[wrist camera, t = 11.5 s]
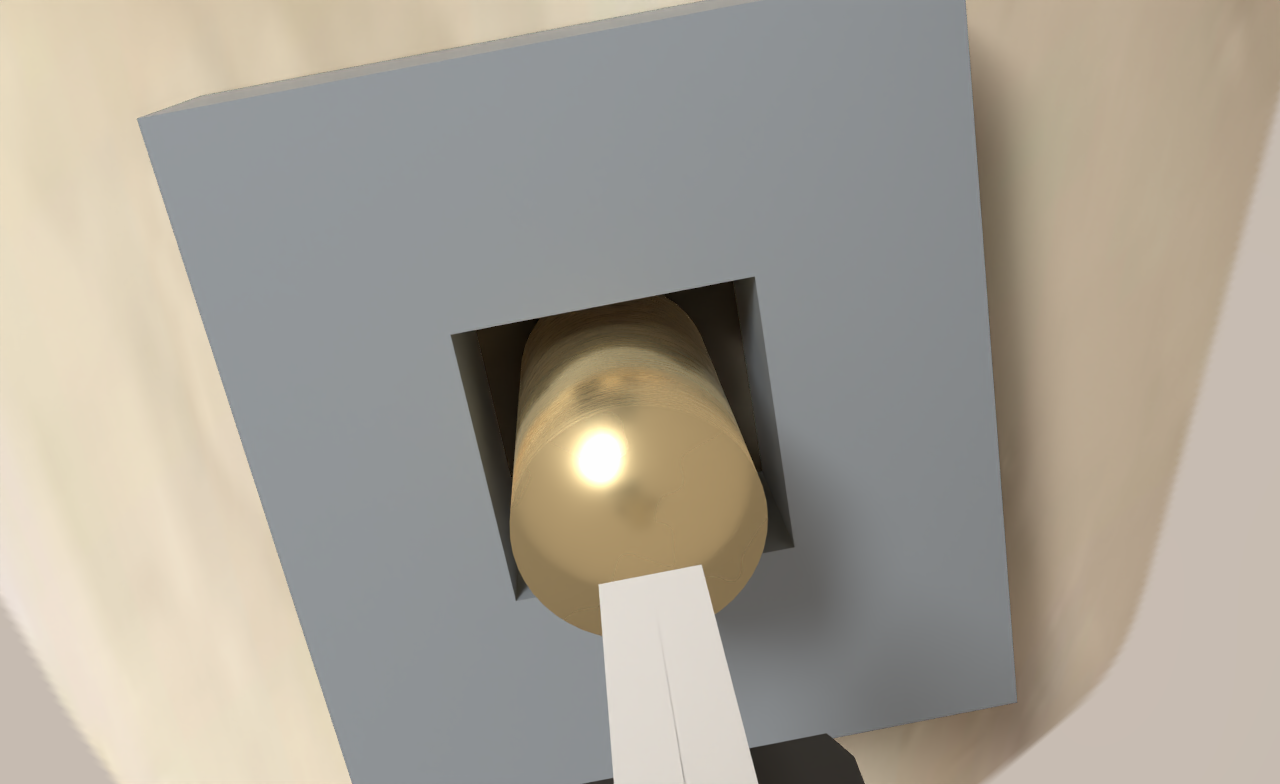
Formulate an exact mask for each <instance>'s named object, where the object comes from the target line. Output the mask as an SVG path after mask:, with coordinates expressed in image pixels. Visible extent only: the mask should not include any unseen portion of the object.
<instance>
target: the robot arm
mask: <svg viewBox="0 0 1280 784" xmlns="http://www.w3.org/2000/svg"><path fill="white" fill-rule="evenodd" d="M598 585H599V598H600V611H601V623H602V636H603V649H604V662H605V675H606V688H607V701H608V714H609V727H610V740H611V753H612V766H613V778H609V779H604V780H599V781H594V782H589V783H584V784H865V783H864V781H863V778H862V776H861V773H860V770H859V768H858V765H857V763H856V760H855V758H854V756H853V755H851V754H850V753H849V752H848V751H847V750H846V749H844V748H843V747H842V746H841V745H840V744H839V743H838V742H836V741H835V740H834V739H833V738H832V737H831V736H829V735H828V734H827V733H825V734H820V735H815V736H809V737H804V738H799V739H794V740H789V741H784V742H779V743H774V744H768V745H763V746H758V747H753V748H749V746H748V742H747V738H746V734H745V730H744V727H743V723H742V719H741V715H740V711H739V707H738V703H737V700H736V696H735V692H734V688H733V684H732V680H731V676H730V672H729V669H728V665H727V661H726V657H725V653H724V649H723V645H722V641H721V638H720V634H719V630H718V626H717V622H716V618H715V614H714V611H713V607H712V603H711V599H710V595H709V591H708V587H707V583H706V580H705V576H704V572H703V568H702V565H696V566H691V567H686V568H681V569H676V570H671V571H665V572H660V573H655V574H650V575H645V576H640V577H634V578H629V579H624V580H619V581H614V582H609V583H603V584H598Z"/></svg>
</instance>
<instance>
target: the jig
mask: <svg viewBox="0 0 1280 784" xmlns="http://www.w3.org/2000/svg"><path fill="white" fill-rule="evenodd" d="M137 121H138V124H139V127H140V130H141V133H142V136H143V139H144V142H145V145H146V148H147V151H148V154H149V158H150V161H151V164H152V167H153V170H154V173H155V176H156V179H157V182H158V185H159V188H160V192H161V195H162V198H163V201H164V204H165V207H166V210H167V213H168V216H169V219H170V222H171V225H172V229H173V232H174V235H175V238H176V241H177V244H178V247H179V250H180V253H181V256H182V259H183V263H184V266H185V269H186V272H187V275H188V278H189V281H190V284H191V287H192V290H193V293H194V297H195V300H196V303H197V306H198V309H199V312H200V315H201V318H202V321H203V324H204V327H205V330H206V334H207V337H208V340H209V343H210V346H211V349H212V352H213V355H214V358H215V361H216V364H217V368H218V371H219V374H220V377H221V380H222V383H223V386H224V389H225V392H226V395H227V398H228V401H229V405H230V408H231V411H232V414H233V417H234V420H235V423H236V426H237V429H238V432H239V435H240V439H241V442H242V445H243V448H244V451H245V454H246V457H247V460H248V463H249V466H250V469H251V472H252V476H253V479H254V482H255V485H256V488H257V491H258V494H259V497H260V500H261V503H262V506H263V510H264V513H265V516H266V519H267V522H268V525H269V528H270V531H271V534H272V537H273V540H274V544H275V547H276V550H277V553H278V556H279V559H280V562H281V565H282V568H283V571H284V574H285V577H286V581H287V584H288V587H289V590H290V593H291V596H292V599H293V602H294V605H295V608H296V611H297V615H298V618H299V621H300V624H301V627H302V630H303V633H304V636H305V639H306V642H307V645H308V648H309V652H310V655H311V658H312V661H313V664H314V667H315V670H316V673H317V676H318V679H319V682H320V686H321V689H322V692H323V695H324V698H325V701H326V704H327V707H328V710H329V713H330V716H331V719H332V723H333V726H334V729H335V732H336V735H337V738H338V741H339V744H340V747H341V750H342V753H343V757H344V760H345V763H346V766H347V769H348V772H349V775H350V778H351V781H352V784H584V783H589V782H594V781H599V780H604V779H609V778H613V766H612V753H611V740H610V727H609V714H608V701H607V688H606V675H605V662H604V649H603V636H600V635H596V634H593V633H590V632H587V631H584V630H582V629H580V628H577V627H575V626H573V625H571V624H569V623H567V622H566V621H564V620H563V619H561V618H559V617H558V616H556V615H555V614H554V613H553V612H551V611H550V610H549V609H548V608H546V607H545V606H544V605H543V604H542V603H541V602H540V601H539V600H538V598H537V597H536V596H535V595H534V594H533V593H532V591H531V590H530V588H529V587H528V586H527V584H526V583H525V581H524V579H523V577H522V575H521V573H520V571H519V569H518V567H517V564H516V561H515V558H514V555H513V552H512V546H511V541H510V511H511V497H512V480H511V476H510V472H509V467H508V463H507V459H506V455H505V451H504V446H503V442H502V438H501V434H500V429H499V425H498V421H497V417H496V413H495V408H494V404H493V400H492V396H491V392H490V387H489V383H488V379H487V375H486V371H485V366H484V362H483V358H482V354H481V350H480V345H479V341H478V337H477V333H476V330H478V329H483V328H488V327H493V326H499V325H504V324H509V323H514V322H519V321H525V320H530V319H535V318H540V317H546V316H551V315H556V314H561V313H566V312H572V311H577V310H582V309H587V308H593V307H598V306H603V305H608V304H613V303H619V302H624V301H629V300H634V299H640V298H645V297H650V296H655V295H660V294H666V293H671V292H676V291H681V290H687V289H692V288H697V287H702V286H707V285H713V284H718V283H723V282H728V281H733V284H734V291H735V297H736V304H737V310H738V317H739V323H740V330H741V336H742V343H743V350H744V356H745V363H746V369H747V376H748V382H749V389H750V395H751V402H752V408H753V415H754V421H755V428H756V434H757V441H758V447H759V454H760V460H761V467H762V471H760V472H757V473H758V476H759V478H760V481H761V483H762V486H763V489H764V493H765V497H766V501H767V512H768V526H767V535H766V540H765V545H764V549H763V552H762V555H761V558H760V561H759V563H758V565H757V567H756V569H755V571H754V573H753V575H752V576H751V578H750V579H749V581H748V582H747V584H746V585H745V586H744V588H743V589H742V590H741V591H740V592H739V594H738V595H737V596H736V597H735V598H734V599H733V600H732V601H731V602H730V603H729V604H728V605H727V606H725V607H724V608H723V609H722V610H721V611H719V612H718V613H716V614H715V618H716V622H717V626H718V630H719V634H720V638H721V641H722V645H723V649H724V653H725V657H726V661H727V665H728V669H729V672H730V676H731V680H732V684H733V688H734V692H735V696H736V700H737V703H738V707H739V711H740V715H741V719H742V723H743V727H744V730H745V734H746V738H747V742H748V746H749V748H753V747H758V746H763V745H768V744H774V743H779V742H784V741H789V740H794V739H799V738H804V737H809V736H815V735H820V734H825V733H827V734H828V735H829V736H831V737H832V738H837V737H842V736H847V735H852V734H858V733H863V732H868V731H873V730H878V729H883V728H888V727H893V726H899V725H904V724H909V723H914V722H919V721H924V720H929V719H935V718H940V717H945V716H950V715H955V714H960V713H965V712H970V711H976V710H981V709H986V708H991V707H996V706H1001V705H1006V704H1012V703H1017V693H1016V680H1015V666H1014V653H1013V639H1012V625H1011V612H1010V598H1009V585H1008V571H1007V558H1006V544H1005V530H1004V517H1003V503H1002V490H1001V476H1000V463H999V449H998V435H997V422H996V408H995V395H994V381H993V368H992V354H991V341H990V327H989V313H988V300H987V286H986V273H985V259H984V246H983V232H982V218H981V205H980V191H979V178H978V164H977V151H976V137H975V123H974V110H973V96H972V83H971V69H970V56H969V42H968V29H967V15H966V1H965V0H705V1H699V2H694V3H689V4H683V5H678V6H673V7H668V8H662V9H657V10H652V11H646V12H641V13H636V14H631V15H625V16H620V17H615V18H609V19H604V20H599V21H594V22H588V23H583V24H578V25H573V26H567V27H562V28H557V29H551V30H546V31H541V32H536V33H530V34H525V35H520V36H514V37H509V38H504V39H499V40H493V41H488V42H483V43H477V44H472V45H467V46H462V47H456V48H451V49H446V50H441V51H435V52H430V53H425V54H419V55H414V56H409V57H404V58H398V59H393V60H388V61H382V62H377V63H372V64H367V65H361V66H356V67H351V68H346V69H340V70H335V71H330V72H324V73H319V74H314V75H309V76H303V77H298V78H293V79H287V80H282V81H277V82H272V83H266V84H261V85H256V86H250V87H245V88H240V89H235V90H229V91H224V92H219V93H214V94H208V95H203V96H199V97H196V98H193V99H191V100H188V101H185V102H182V103H179V104H177V105H174V106H171V107H168V108H165V109H163V110H160V111H157V112H154V113H151V114H149V115H146V116H143V117H140V118H137Z"/></svg>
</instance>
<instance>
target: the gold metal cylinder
mask: <svg viewBox="0 0 1280 784" xmlns="http://www.w3.org/2000/svg"><path fill="white" fill-rule="evenodd" d="M767 526H768V512H767V501H766V497H765V493H764V489H763V486H762V483H761V481H760V478H759V476H758V473H757V471H756V468H755V466H754V464H753V461H752V459H751V456H750V454H749V451H748V449H747V447H746V444H745V442H744V439H743V437H742V434H741V432H740V430H739V427H738V425H737V422H736V420H735V417H734V415H733V413H732V410H731V408H730V405H729V403H728V401H727V398H726V396H725V393H724V391H723V388H722V386H721V384H720V381H719V379H718V376H717V374H716V371H715V369H714V367H713V364H712V362H711V359H710V357H709V354H708V352H707V350H706V347H705V345H704V342H703V340H702V337H701V335H700V333H699V331H698V329H697V328H696V326H695V324H694V323H693V321H692V320H691V319H690V317H689V316H688V315H687V314H686V313H685V312H684V311H683V310H682V309H681V308H680V307H679V306H678V305H677V304H676V303H674V302H673V301H672V300H670V299H669V298H668V297H666V296H664V295H662V294H660V295H655V296H650V297H645V298H640V299H634V300H629V301H624V302H619V303H613V304H608V305H603V306H598V307H593V308H587V309H582V310H577V311H572V312H566V313H561V314H556V315H551V316H546V317H541V319H540V320H539V321H538V322H537V324H536V325H535V327H534V328H533V330H532V332H531V334H530V335H529V338H528V340H527V343H526V345H525V349H524V352H523V356H522V363H521V374H520V387H519V401H518V415H517V428H516V442H515V456H514V469H513V483H512V497H511V511H510V541H511V546H512V552H513V555H514V558H515V561H516V564H517V567H518V569H519V571H520V573H521V575H522V577H523V579H524V581H525V583H526V584H527V586H528V587H529V588H530V590H531V591H532V593H533V594H534V595H535V596H536V597H537V598H538V600H539V601H540V602H541V603H542V604H543V605H544V606H545V607H546V608H548V609H549V610H550V611H551V612H553V613H554V614H555V615H556V616H558V617H559V618H561V619H563V620H564V621H566V622H567V623H569V624H571V625H573V626H575V627H577V628H580V629H582V630H584V631H587V632H590V633H593V634H596V635H600V636H602V623H601V611H600V598H599V585H598V584H603V583H609V582H614V581H619V580H624V579H629V578H634V577H640V576H645V575H650V574H655V573H660V572H665V571H671V570H676V569H681V568H686V567H691V566H696V565H702V568H703V572H704V576H705V580H706V583H707V587H708V591H709V595H710V599H711V603H712V607H713V611H714V614H716V613H718V612H719V611H721V610H722V609H723V608H724V607H725V606H727V605H728V604H729V603H730V602H731V601H732V600H733V599H734V598H735V597H736V596H737V595H738V594H739V592H740V591H741V590H742V589H743V588H744V586H745V585H746V584H747V582H748V581H749V579H750V578H751V576H752V575H753V573H754V571H755V569H756V567H757V565H758V563H759V561H760V558H761V555H762V552H763V549H764V545H765V540H766V535H767Z"/></svg>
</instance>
